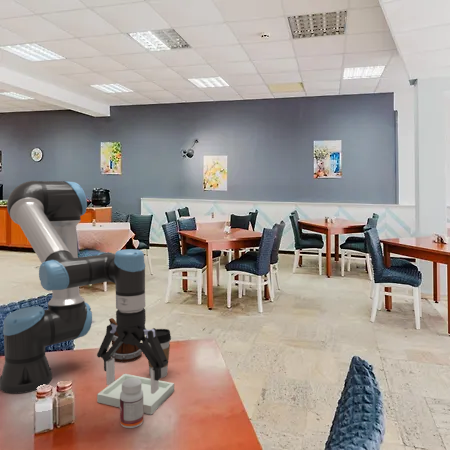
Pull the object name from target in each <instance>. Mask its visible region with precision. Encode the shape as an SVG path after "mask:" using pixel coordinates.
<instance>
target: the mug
mask: <svg viewBox="0 0 450 450" xmlns="http://www.w3.org/2000/svg"><path fill="white" fill-rule="evenodd" d="M108 321H109V323H110V324H112V323H115V324H116V319H114V318H113V317H111V318H109V319H108ZM110 324H109V325H110ZM116 325H117V324H116ZM118 337H119V335H118V333H117V332H115V334H114V336H113V338H112V341H111V346H112V345H113V344H114V343H115V341H116V339H117V338H118ZM142 354H143V352H142V351H141V349H140V348H138V347H137V346H136V345H131V344H124V343H122V344H121V346H120V347H119V348H118V349H117V350H116V352H115V353H114V354H113V355H112V357H111V358H114V362H123V363H128V362H132V361H133V362H134V361H135V360H138V359H139V358H140V357H141V355H142Z"/></svg>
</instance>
